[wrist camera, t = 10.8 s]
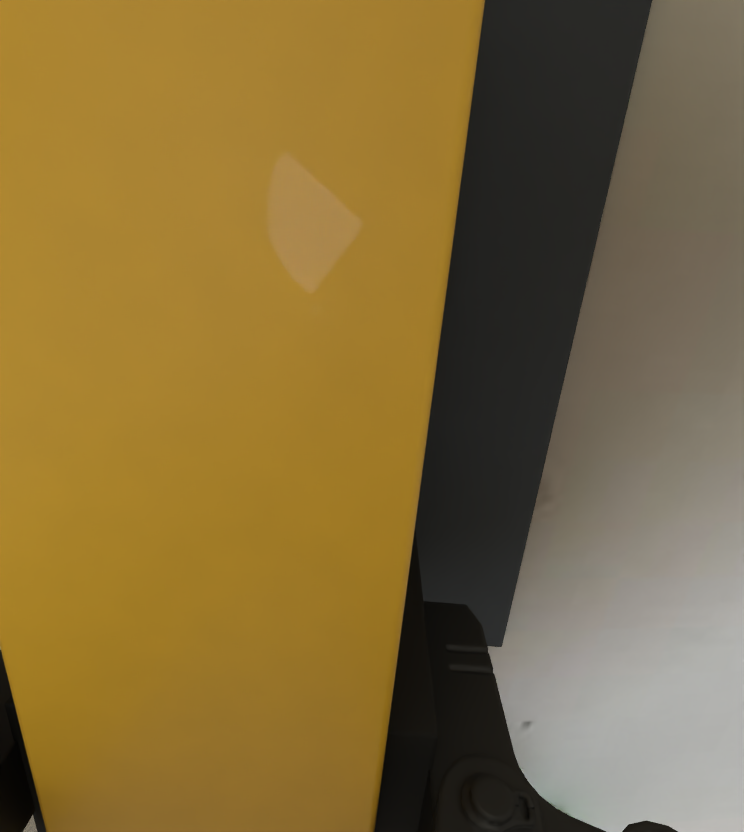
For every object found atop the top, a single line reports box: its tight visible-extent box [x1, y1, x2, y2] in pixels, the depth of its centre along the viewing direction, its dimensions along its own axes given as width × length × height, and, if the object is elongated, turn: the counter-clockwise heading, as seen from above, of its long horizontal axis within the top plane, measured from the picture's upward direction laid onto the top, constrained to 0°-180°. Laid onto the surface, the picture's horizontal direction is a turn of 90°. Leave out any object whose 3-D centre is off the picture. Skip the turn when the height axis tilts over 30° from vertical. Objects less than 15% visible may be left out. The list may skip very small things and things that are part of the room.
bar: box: [0, 0, 485, 832], centre depth 6 cm, size 18×4×4 cm, turn 175°
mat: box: [415, 0, 652, 647], centre depth 11 cm, size 20×12×1 cm, turn 175°
